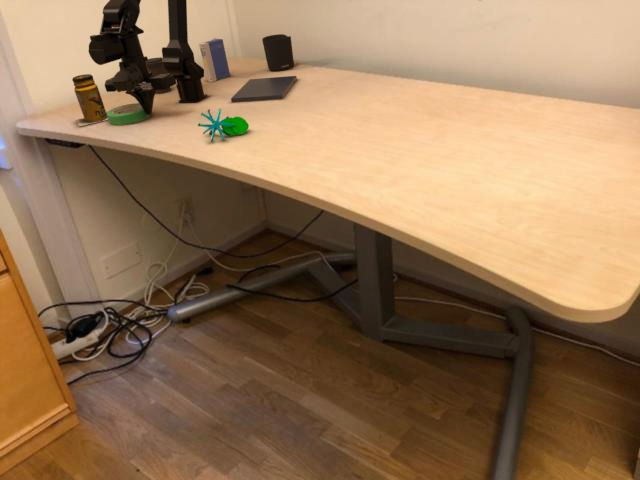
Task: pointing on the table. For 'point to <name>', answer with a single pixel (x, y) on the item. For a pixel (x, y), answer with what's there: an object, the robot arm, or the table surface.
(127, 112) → the tape roll
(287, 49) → the black speaker
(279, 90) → the notebook
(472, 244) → the table surface
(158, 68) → the coffee cup
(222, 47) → the blue white rectangular box
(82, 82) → the condiment
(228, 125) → the stick construction toy
